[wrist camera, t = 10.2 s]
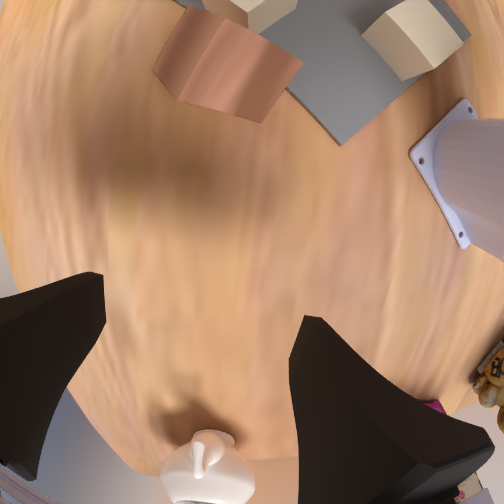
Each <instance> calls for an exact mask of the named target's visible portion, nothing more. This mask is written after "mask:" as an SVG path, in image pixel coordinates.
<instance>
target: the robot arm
mask: <svg viewBox="0 0 504 504" xmlns="http://www.w3.org/2000/svg"><path fill="white" fill-rule="evenodd" d="M468 108H469V110H470V112H469V110H468ZM410 158H411V160H412V162H413V163H414V165H415V166H416V168H417V169H418V171H419V173H420V174H421V176H422V177H423V179H424V181H425V182H426V184H427V186H428V187H429V189H430V191H431V193H432V194H433V196H434V198H435V200H436V201H437V203H438V205H439V207H440V209H441V211H442V213H443V214H444V216H445V218H446V220H447V222H448V224H449V226H450V228H451V230H452V232H453V235H454V237H455V239H456V241H457V243H458V245H459V247H460V248H462V249H465V248H467V247H468V245H469V244H470V243H472V244H474V245H476V246H477V247H479V248H481V249H483V250H484V251H486V252H488V253H489V254H491V255H493V256H494V257H496V258H498V259H499V260H501V261H503V262H504V119H479V117H478V116H477V114H476V112H475V110H474V108H473V107H472V105H471V103H470V102H469V100H468V99H461V100H460V101H459V103H458V104H457V105H456V106H455V107H454V108H453V109H452V110H451V111H450V112H449V113H448V114H447V115H446V116H445V117H444V118H443V119H442V120H441V121H440V122H439V123H438V124H437V125H436V126H435V127H434V128H433V129H432V130H431V131H430V132H429V133H428V134H427V135H426V136H425V137H424V138H423V139H422V140H420V141H419V142H418V143H417V144H416V145H415V146H414V147H413V148H412V149H411V151H410ZM419 158H421V160H422V162H421V164H419ZM460 232H461V233H460ZM459 233H460V235H459ZM105 323H106V312H105V298H104V280H103V275H101V274H97V273H94V272H85V273H81V274H77V275H74V276H71V277H68V278H65V279H62V280H59V281H56V282H53V283H51V284H48V285H45V286H42V287H39V288H36V289H32V290H29V291H26V292H23V293H20V294H17V295H13V296H9V297H5V298H0V463H1V464H2V465H3V466H6V467H8V468H9V469H11V470H12V471H13V472H15V473H16V474H18V475H19V476H21V477H22V478H24V479H25V480H27V481H33V480H36V477H37V471H38V465H39V460H40V455H41V451H42V447H43V444H44V440H45V437H46V434H47V430H48V428H49V425H50V422H51V420H52V417H53V414H54V411H55V409H56V407H57V405H58V403H59V400H60V398H61V396H62V394H63V392H64V390H65V388H66V387H67V385H68V383H69V382H70V380H71V379H72V377H73V376H74V374H75V373H76V371H77V370H78V368H79V367H80V365H81V364H82V362H83V361H84V359H85V358H86V356H87V355H88V353H89V352H90V350H91V349H92V348H93V346H94V345H95V343H96V341H97V339H98V338H99V336H100V334H101V332H102V330H103V328H104V326H105ZM289 385H290V392H291V398H292V404H293V410H294V417H295V423H296V429H297V436H298V446H299V493H298V504H456V501H455V499H454V498H456V497H457V496H459V495H460V491H459V488H458V485H459V484H461V483H462V482H463V481H465V480H466V479H467V478H468V477H470V476H471V475H472V474H473V473H474V472H476V471H477V470H478V469H479V468H480V467H481V466H482V465H483V464H485V463H486V462H487V461H488V459H489V458H490V457H491V456H492V454H493V452H494V450H495V446H494V444H493V442H492V441H491V439H490V437H489V435H488V434H487V432H486V431H485V430H484V428H482V427H479V426H476V425H473V424H469V423H466V422H463V421H461V420H457V419H455V418H452V417H450V416H448V415H446V414H443V413H441V412H439V411H437V410H435V409H433V408H431V407H429V406H427V405H425V404H423V403H422V402H420V401H418V400H417V399H415V398H413V397H412V396H410V395H408V394H407V393H405V392H404V391H402V390H401V389H399V388H398V387H397V386H395V385H394V384H392V383H391V382H390V381H388V380H387V379H386V378H384V377H383V376H382V375H381V374H379V373H378V372H377V371H376V370H375V369H374V368H373V367H371V366H370V365H369V364H368V363H367V362H366V361H365V360H364V359H362V358H361V357H360V356H359V355H358V354H357V353H356V352H355V351H354V350H353V349H352V348H351V347H350V346H349V345H348V344H347V343H346V342H345V341H344V340H343V339H342V338H341V337H340V336H339V335H338V334H337V333H336V331H335V330H334V329H333V328H332V327H331V326H330V325H329V324H328V323H327V322H326V321H324V320H323V319H322V318H321V317H314V316H307V315H304V318H303V321H302V324H301V326H300V329H299V332H298V335H297V338H296V341H295V343H294V346H293V349H292V352H291V355H290V357H289ZM0 488H2V489H3V490H4V491H6V492H7V493H8V494H10V495H11V496H12V497H14V498H15V499H17V500H18V501H19V502H21V503H23V504H60V503H58V502H56V501H54V500H53V499H51V498H49V497H47V496H46V495H44V494H42V493H40V492H38V491H37V490H35V489H34V488H32V487H31V486H29V485H27V484H26V483H24V482H23V481H21V480H20V479H18V478H17V477H15V476H14V475H13V474H11V473H10V472H9V471H7V470H6V469H4V468H3V467H2V466H0ZM0 504H11V503H10V502H8V501H7V500H5V499H4V498H3V497H2V495H1V491H0ZM458 504H494V503H493V500H492V498H491V495H490V493H489V490H488V488H484V489H483V490H481V491H479V492H478V493H476V494H474V495H472V496H470V497H469V498H467V499H465V500H463V501H462V502H460V503H458Z"/></svg>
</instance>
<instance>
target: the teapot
mask: <svg viewBox="0 0 504 504" xmlns="http://www.w3.org/2000/svg"><path fill="white" fill-rule="evenodd" d="M234 445H235V440H234V438H233V437H232V436H231V435H229V434H227V433H225V432H222V431H219V430H212V429H205V430H200V431H197V432H195V433H194V435H193V438H192V439H191V441H190V442H188V443H186V444H184V445H182V446H180V447H179V448H177V449H176V450H175V451H173V452H172V453H171V454H170V455H169V456H168V458H167V459H166V460H165V462H164V464H163V466H162V469H161V473H160V479H161V482H162V484H163V487H164V489H165V491H166V493H167V495H168V497H169V498H170V500H171V501H172V502H173V503H174V504H245V503H246V502H247V501H248V500H249V498H250V497H251V496H252V495H253V493H254V491H255V476H254V473H253V471H252V468H251V466H250V465H249V463H248V461H247V460H246V459H245V458H244V456H243V455H242V454H241V453H239V452H238V451H237V450H236V449H235V447H234Z"/></svg>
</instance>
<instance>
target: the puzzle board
mask: <svg viewBox="0 0 504 504" xmlns="http://www.w3.org/2000/svg"><path fill="white" fill-rule="evenodd" d="M173 1H175V2H177V3H178V4H180V5H181V6H183V7H184V8H186V9H187V8H188V6H192V7H195V8H199V9H202V10H205V11H208V12H211V13H214V14H216V15H219V16H222V17H225V18H227V19H229V20H231V21H233V22H235V23H237V24H239V25H241V26H243V27H245V28H247V29H249V30H251V31H253V32H255V33H256V34H258V35H260V36H262V37H264V38H265V39H267V40H269V41H271V42H272V43H274V44H276V45H277V46H279V47H281V48H282V49H284V50H285V51H287V52H289V53H290V54H292V55H293V56H295V57H296V58H298V59H299V60H301V61H302V62H304V64H303V65H302V66H301V68H300V69H299V70H298V72H297V73H296V74H295V76H294V77H293V78H292V80H291V81H290V83H289V84H288V85H287V87H286V88H285V89H286V90H287V91H288V92H289V93H290V94H291V95H292V96H293V97H294V98H295V99H296V100H297V101H298V102H299V103H300V104H301V105H302V106H303V107H304V108H305V109H306V110H307V111H308V112H309V113H310V114H311V115H312V116H313V117H314V118H315V119H316V120H317V121H318V122H319V124H320V125H321V126H322V127H323V128H324V129H325V130H326V131H327V132H328V134H329V135H330V136H331V137H332V138H333V139H334V140H335V142H336V143H337V144H338V145H339V146H342V145H344V144H345V143H346V142H347V141H348V140H349V139H350V138H351V137H353V136H354V135H355V134H356V133H357V132H358V131H359V130H360V129H362V128H363V127H364V126H365V125H366V124H367V123H368V122H369V121H371V120H372V119H373V118H374V117H375V116H376V115H377V114H379V113H380V112H381V111H382V110H383V109H384V108H386V107H387V106H388V105H389V104H390V103H391V102H392V101H394V100H395V99H396V98H397V97H398V96H399V95H401V94H402V93H403V92H404V91H405V90H406V89H407V88H409V87H410V86H411V85H412V84H413V83H414V82H416V81H417V80H418V79H419V78H420V77H422V76H423V75H424V74H425V73H426V72H427V71H430V70H433V69H435V68H436V67H437V66H439V65H440V64H441V63H442V62H443V61H444V60H446V59H447V58H448V57H449V56H450V55H451V54H453V53H454V52H455V51H456V50H457V49H459V48H460V47H461V46H462V45H463V44H464V43H463V41H465V40H466V39H467V38H468V37H470V36H471V34H470V33H469V31H468V30H467V29H466V27H465V26H464V25H463V23H462V22H461V21H460V20H459V18H458V17H457V16H456V15H455V13H454V12H453V11H452V10H451V9H450V7H449V6H448V5H447V4H446V3H445V2H444V1H443V0H173Z"/></svg>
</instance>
